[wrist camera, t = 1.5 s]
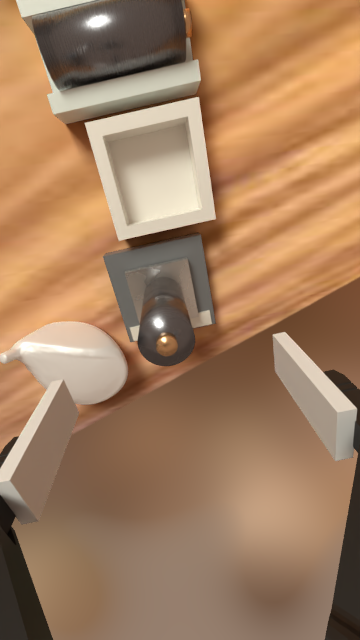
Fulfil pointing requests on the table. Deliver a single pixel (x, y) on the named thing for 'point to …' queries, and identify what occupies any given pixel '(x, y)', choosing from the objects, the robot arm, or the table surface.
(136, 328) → the grey square base pad
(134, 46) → the cell
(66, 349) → the white rounded lump
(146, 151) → the white square tray
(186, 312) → the cell
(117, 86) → the trough
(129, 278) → the plate
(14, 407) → the table surface
